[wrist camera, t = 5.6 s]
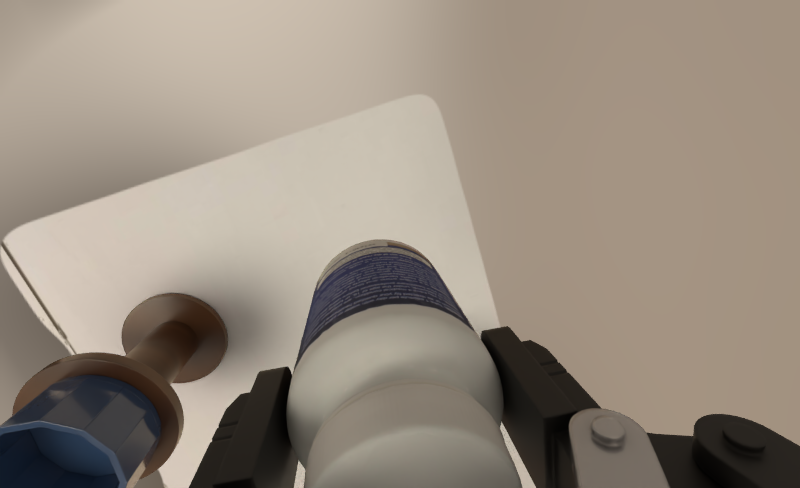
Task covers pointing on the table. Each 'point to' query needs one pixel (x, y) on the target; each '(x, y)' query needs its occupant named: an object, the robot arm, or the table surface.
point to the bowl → (80, 436)
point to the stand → (151, 360)
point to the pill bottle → (394, 381)
